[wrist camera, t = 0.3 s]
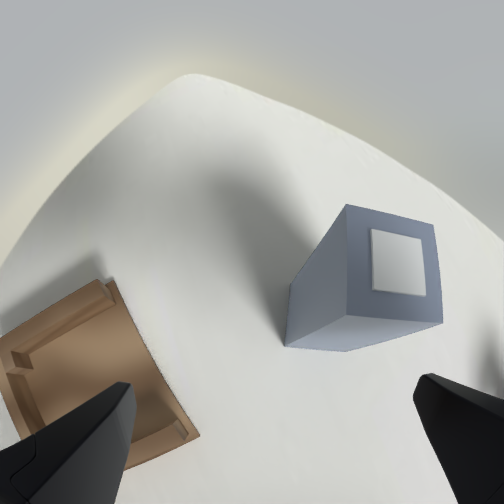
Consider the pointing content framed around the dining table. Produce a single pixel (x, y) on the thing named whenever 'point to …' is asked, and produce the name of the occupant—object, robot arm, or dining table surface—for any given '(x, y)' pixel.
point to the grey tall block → (366, 283)
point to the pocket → (88, 370)
